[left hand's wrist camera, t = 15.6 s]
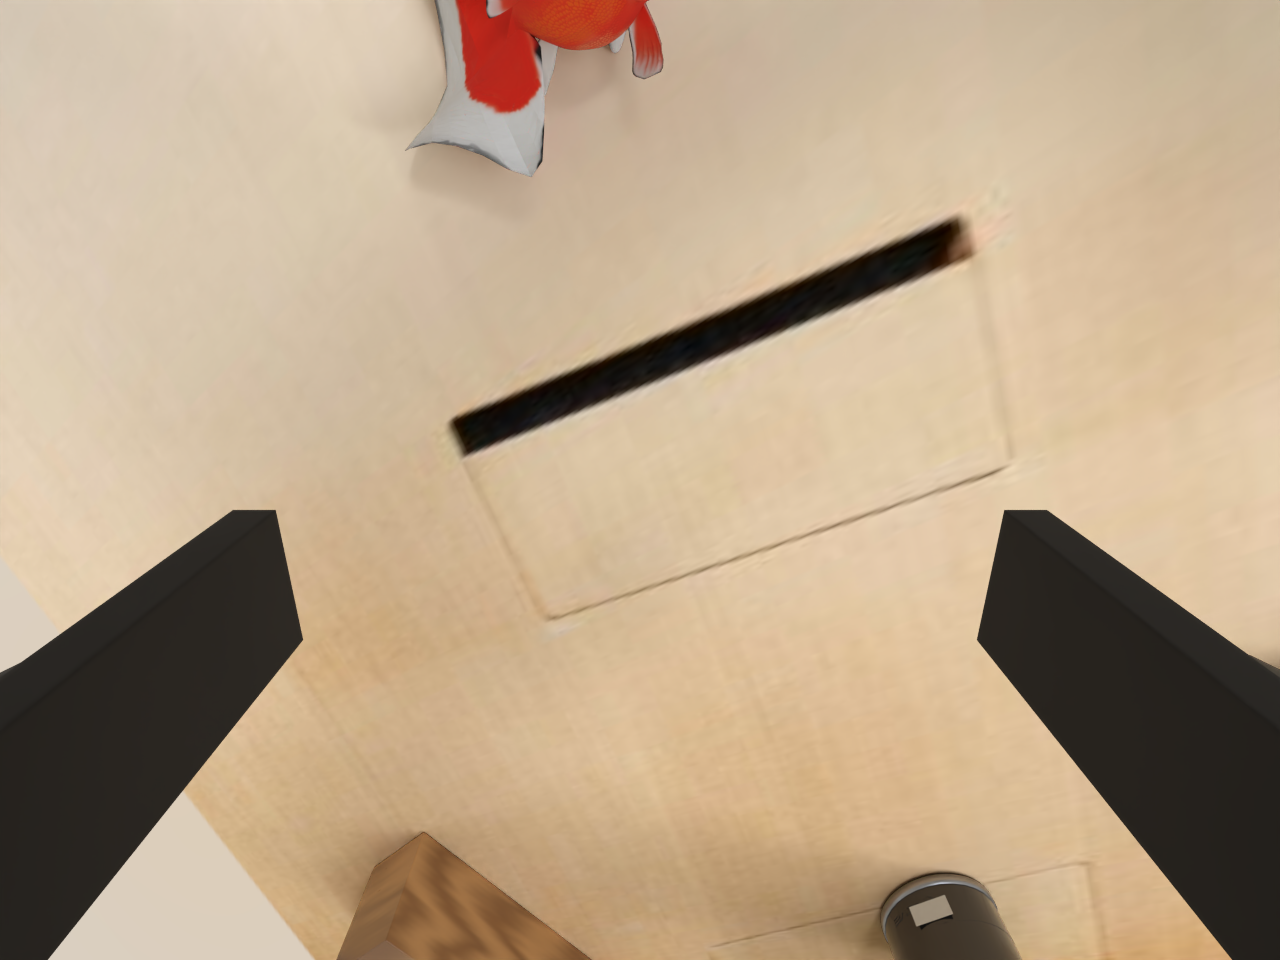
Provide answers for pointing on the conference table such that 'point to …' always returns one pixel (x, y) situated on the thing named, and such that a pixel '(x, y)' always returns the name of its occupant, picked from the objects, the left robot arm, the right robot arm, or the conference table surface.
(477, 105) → the fish
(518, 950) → the bar
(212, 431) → the conference table surface
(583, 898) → the conference table surface
